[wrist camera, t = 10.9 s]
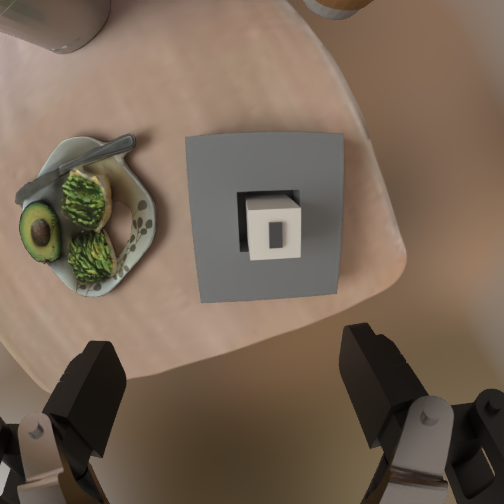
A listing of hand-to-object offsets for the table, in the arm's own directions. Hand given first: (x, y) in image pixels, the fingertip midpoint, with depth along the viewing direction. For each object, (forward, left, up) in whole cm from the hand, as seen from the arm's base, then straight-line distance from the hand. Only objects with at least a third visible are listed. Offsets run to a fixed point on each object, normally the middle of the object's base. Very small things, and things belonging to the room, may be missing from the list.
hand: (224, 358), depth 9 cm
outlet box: (0, +3, -21) cm, 21 cm away
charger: (0, +3, -21) cm, 21 cm away
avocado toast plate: (-1, -18, -22) cm, 28 cm away
